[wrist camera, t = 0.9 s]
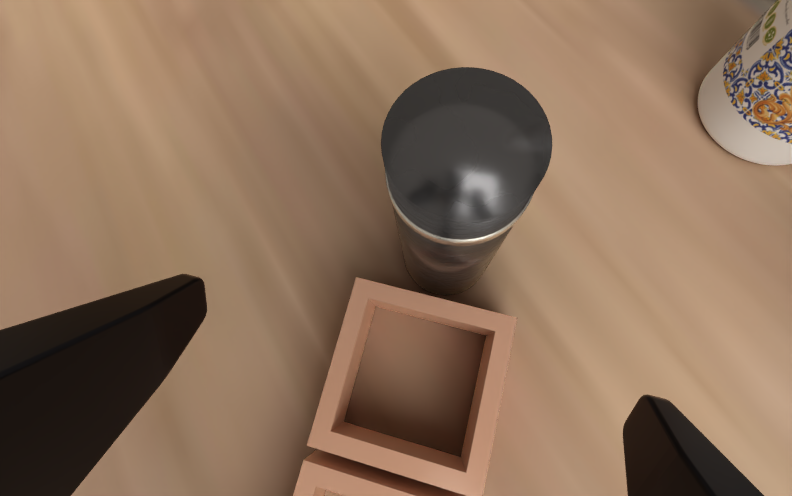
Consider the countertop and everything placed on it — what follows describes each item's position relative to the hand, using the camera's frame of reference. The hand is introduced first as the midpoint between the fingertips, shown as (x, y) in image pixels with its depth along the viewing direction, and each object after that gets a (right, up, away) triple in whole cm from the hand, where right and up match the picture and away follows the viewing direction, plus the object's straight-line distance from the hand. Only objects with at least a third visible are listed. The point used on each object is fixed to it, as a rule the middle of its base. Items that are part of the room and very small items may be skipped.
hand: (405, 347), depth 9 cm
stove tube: (+2, +2, +14) cm, 14 cm away
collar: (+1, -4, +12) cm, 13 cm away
